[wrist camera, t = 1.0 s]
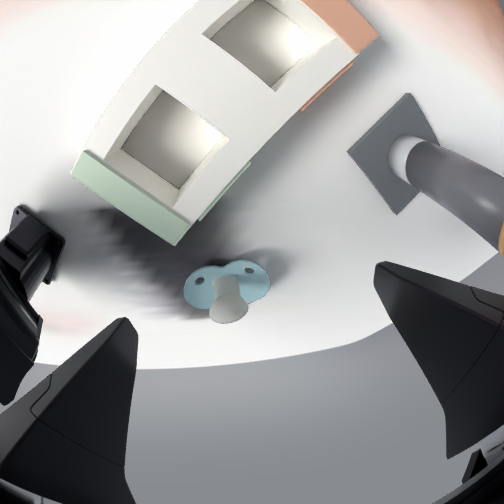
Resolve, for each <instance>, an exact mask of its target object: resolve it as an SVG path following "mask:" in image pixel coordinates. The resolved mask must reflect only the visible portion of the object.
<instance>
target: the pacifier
mask: <svg viewBox="0 0 504 504" xmlns="http://www.w3.org/2000/svg"><path fill="white" fill-rule="evenodd" d="M245 268H251V269H253V270H254V272H253V273H247V272H246V270H245ZM199 277H203V278H204V281H203V282H201V283H196V282H195V280H196V279H197V278H199ZM269 288H270V279H269V276H268V274H267V272H266V271H265V270H264V269H263V268H262V267H261V266H260V265H259V264H257V263H255V262H253V261H249V260H236V261H232V262H230V263H228V264H227V265H226V266H222V267H219V266H204V267H201V268H199V269H197V270H196V271H194V272H193V273H192V274H191V275H190V276H189V277H188V279H187V281H186V283H185V286H184V297H185V299H186V301H187V302H188V303H189V304H190V305H192V306H194V307H196V308H199V309H210V317H211V319H212V320H213V321H214V322H216V323H221V324H226V323H232V322H235V321H237V320H239V319H241V318H242V317H243V316H245V314H246V313H247V311H248V304H250V303H252V302H253V301H256V300H258V299H261V298H262V297H263V296H265V295H266V294H267V292H268V291H269Z"/></svg>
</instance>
